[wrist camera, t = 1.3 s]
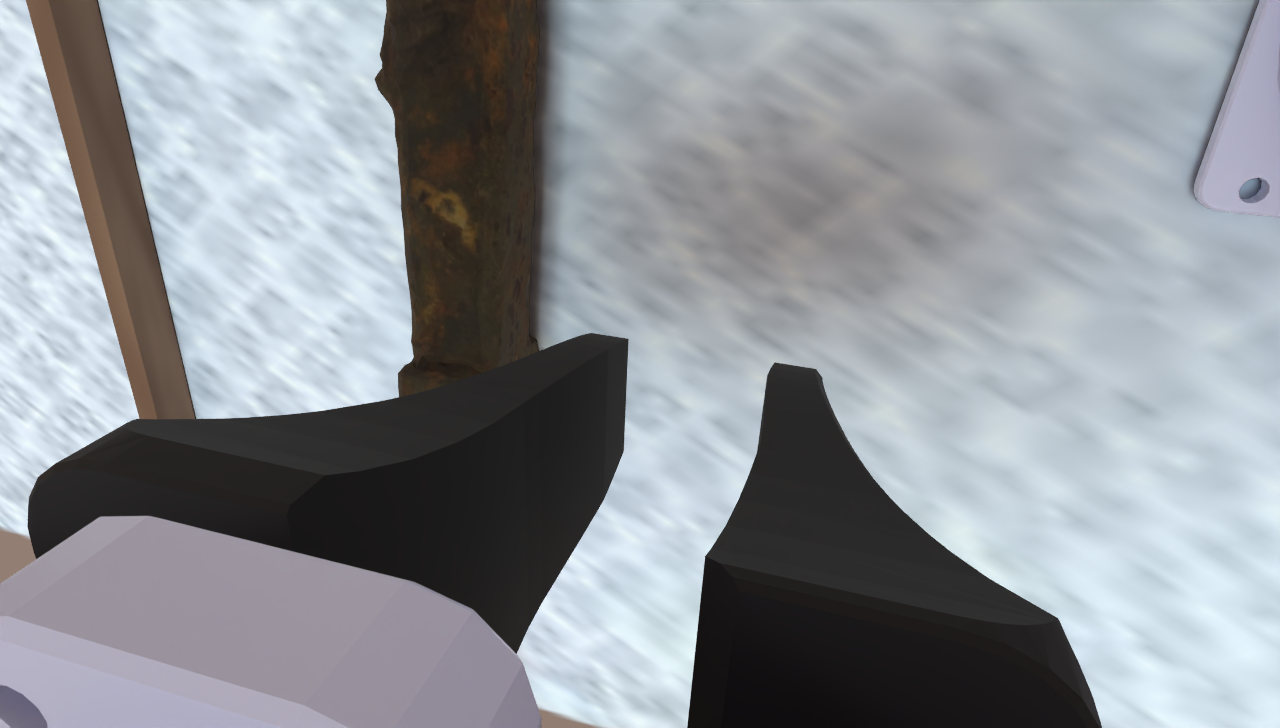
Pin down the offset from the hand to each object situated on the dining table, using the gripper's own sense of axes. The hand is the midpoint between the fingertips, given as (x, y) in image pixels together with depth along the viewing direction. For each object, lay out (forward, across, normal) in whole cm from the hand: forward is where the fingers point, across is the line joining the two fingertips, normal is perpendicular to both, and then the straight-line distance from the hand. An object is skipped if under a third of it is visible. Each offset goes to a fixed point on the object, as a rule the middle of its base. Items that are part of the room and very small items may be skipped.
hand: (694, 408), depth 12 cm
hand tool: (+10, +7, 0) cm, 12 cm away
